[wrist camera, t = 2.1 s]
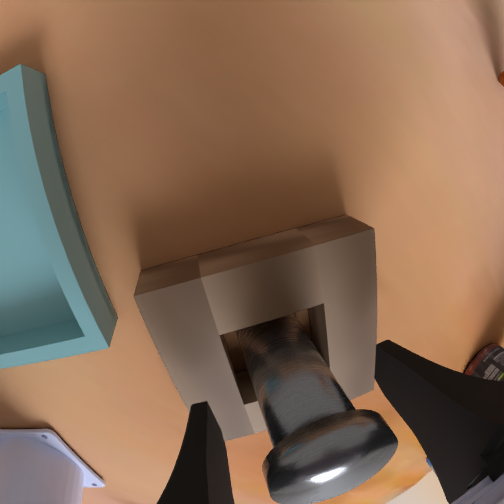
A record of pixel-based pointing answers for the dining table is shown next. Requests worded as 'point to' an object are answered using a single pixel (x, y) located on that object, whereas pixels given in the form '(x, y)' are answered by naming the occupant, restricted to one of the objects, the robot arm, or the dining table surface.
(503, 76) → the carrot
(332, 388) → the steel pin
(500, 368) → the supplement bottle
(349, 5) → the dining table surface
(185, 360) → the brown wooden square frame
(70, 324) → the tray
